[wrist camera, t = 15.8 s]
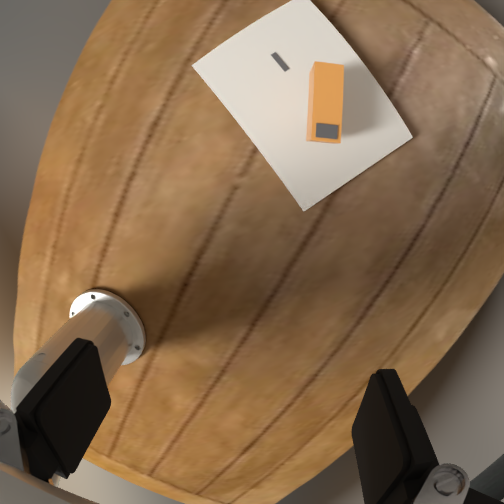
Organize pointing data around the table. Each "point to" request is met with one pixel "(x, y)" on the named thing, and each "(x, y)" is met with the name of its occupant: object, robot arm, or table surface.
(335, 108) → the orange block on post
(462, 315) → the table surface
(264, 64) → the base plate
